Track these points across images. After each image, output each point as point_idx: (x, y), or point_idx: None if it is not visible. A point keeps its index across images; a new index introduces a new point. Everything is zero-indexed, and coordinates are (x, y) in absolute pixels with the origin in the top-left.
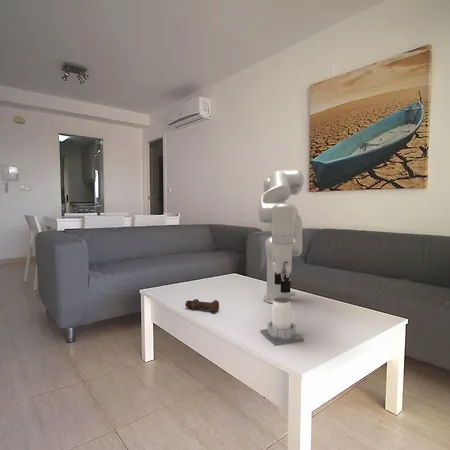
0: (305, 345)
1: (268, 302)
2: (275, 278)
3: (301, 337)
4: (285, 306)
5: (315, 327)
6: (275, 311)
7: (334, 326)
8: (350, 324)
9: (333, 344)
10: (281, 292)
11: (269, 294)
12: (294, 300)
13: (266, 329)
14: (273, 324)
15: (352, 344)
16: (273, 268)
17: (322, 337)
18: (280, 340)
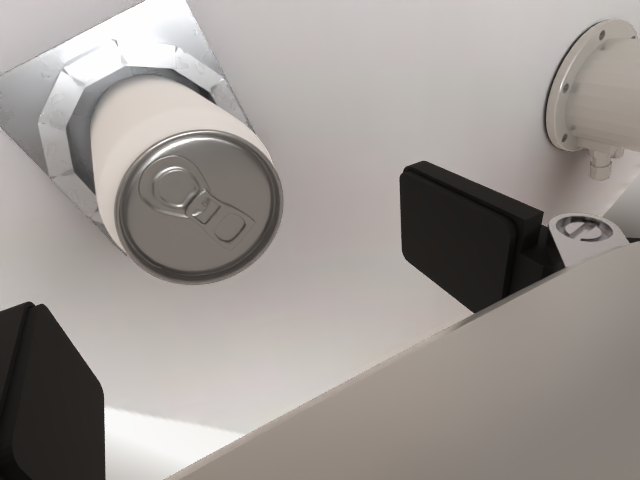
0: (69, 261)
1: (572, 47)
2: (457, 201)
3: None
4: (115, 242)
5: (304, 274)
6: (110, 130)
7: (323, 332)
8: (346, 370)
9: (135, 360)
10: (5, 314)
11: (619, 55)
12: (566, 168)
13: (194, 30)
14: (119, 91)
15: (162, 411)
16: (539, 334)
17: (201, 313)
18: (29, 132)
